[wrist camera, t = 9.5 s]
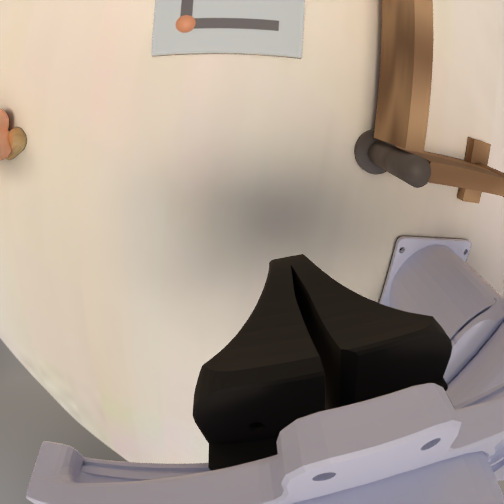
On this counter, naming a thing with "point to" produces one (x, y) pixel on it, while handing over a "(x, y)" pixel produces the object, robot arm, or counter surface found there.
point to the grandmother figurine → (10, 138)
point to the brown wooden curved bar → (404, 89)
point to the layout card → (228, 27)
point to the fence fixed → (447, 168)
